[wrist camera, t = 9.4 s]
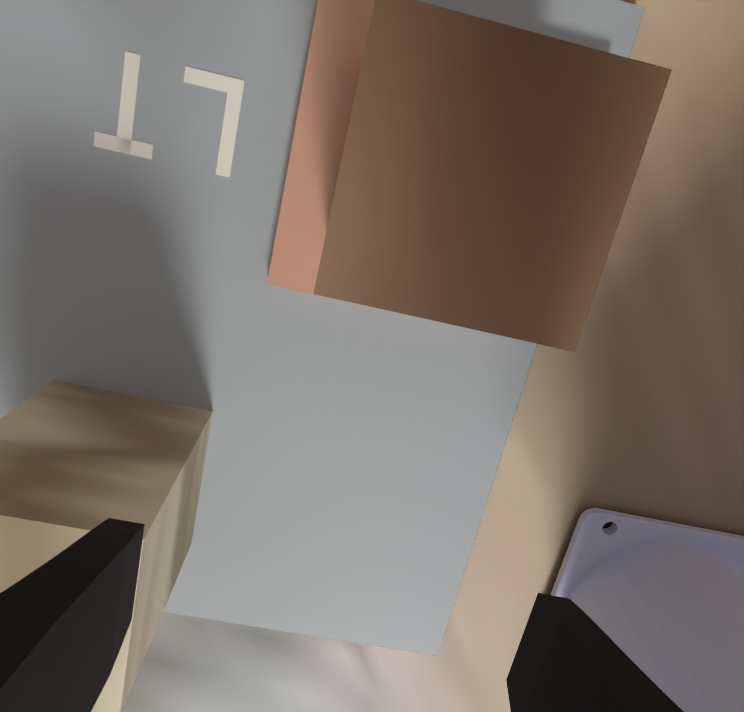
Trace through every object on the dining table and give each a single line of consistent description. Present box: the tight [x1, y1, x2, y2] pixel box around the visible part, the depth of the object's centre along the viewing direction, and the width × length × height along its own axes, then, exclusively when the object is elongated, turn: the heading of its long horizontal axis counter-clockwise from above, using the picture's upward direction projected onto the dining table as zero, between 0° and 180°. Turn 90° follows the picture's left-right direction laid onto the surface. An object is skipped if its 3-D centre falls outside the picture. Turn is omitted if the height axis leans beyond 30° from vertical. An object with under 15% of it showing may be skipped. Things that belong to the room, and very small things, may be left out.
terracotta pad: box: [267, 0, 415, 317], centre depth 18 cm, size 8×8×1 cm
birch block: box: [0, 380, 213, 712], centre depth 17 cm, size 5×5×7 cm
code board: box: [0, 0, 645, 656], centre depth 20 cm, size 17×22×1 cm
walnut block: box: [313, 0, 671, 352], centre depth 14 cm, size 5×5×7 cm
